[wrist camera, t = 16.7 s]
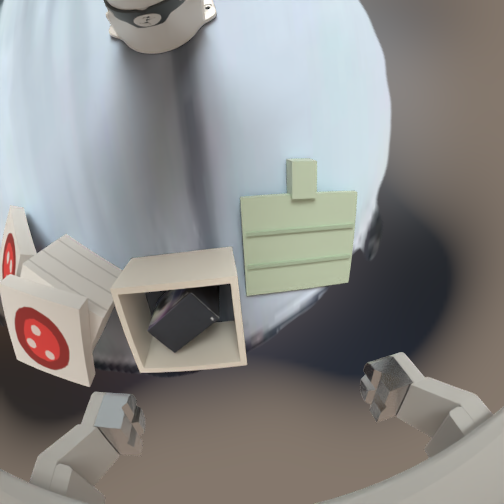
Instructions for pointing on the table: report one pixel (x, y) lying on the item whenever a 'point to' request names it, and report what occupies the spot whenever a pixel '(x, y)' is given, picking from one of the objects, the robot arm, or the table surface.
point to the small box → (184, 315)
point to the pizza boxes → (54, 300)
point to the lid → (297, 234)
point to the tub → (169, 278)
